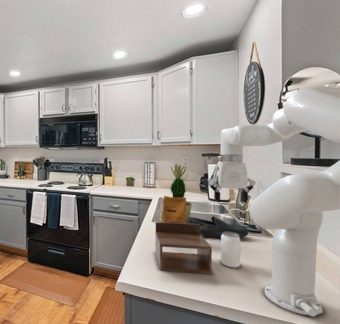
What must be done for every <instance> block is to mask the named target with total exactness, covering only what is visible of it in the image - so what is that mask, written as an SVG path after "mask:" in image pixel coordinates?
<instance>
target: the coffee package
mask: <svg viewBox="0 0 340 324" xmlns="http://www.w3.org/2000/svg"><path fill="white" fill-rule="evenodd" d="M162 201H163V204H162V212H161V213H162V214H161V222H164V223H185V221H186V201H187V197H184V198H173V196H168V195H163V200H162Z"/></svg>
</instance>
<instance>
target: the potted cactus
mask: <svg viewBox="0 0 340 324" xmlns="http://www.w3.org/2000/svg"><path fill="white" fill-rule="evenodd" d="M170 192H171V193H170V194H171V195H172V198H186V195H185V194H186V193H187V189H186V181H185V180H184V179H183V178H181V177H175V178H174V179H173V181H172V182H171V185H170ZM191 210H192V202H191V201H187V200H186V221H185V223H187V221H188V217H191Z"/></svg>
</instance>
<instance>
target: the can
mask: <svg viewBox="0 0 340 324" xmlns="http://www.w3.org/2000/svg"><path fill="white" fill-rule="evenodd" d="M220 263H221V264H222V265H223V266H226V267H228V268H235V269H236V268H239V267H240V266H241V238H239V235H238V234H236V233H233V232H223V233H222V236H221V238H220Z"/></svg>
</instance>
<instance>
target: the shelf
mask: <svg viewBox="0 0 340 324" xmlns="http://www.w3.org/2000/svg"><path fill="white" fill-rule="evenodd" d="M154 242H155V245H154V246H155V249H154V251H155V254H154V255H155V258H156V261H157V265H158V267H159V270H160V271H167V272H169V271H170V272H182V273H193V274H194V273H195V274H206V275H207V274H208V275H212V257H213V255H212V253H213V250H212V248H213V247H212V245H210V243H209V242H208V241H207V240H206V239H205V237H204V236H203V237H202V236H201V235H200V224H188V223H164V222H162V221H156V222H155V241H154ZM163 248H177V249H191V250H193V249H196V252H197V253H188V252H187V253H186V252H174V251H173V252H171V251H170V252H169V251H163Z"/></svg>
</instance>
